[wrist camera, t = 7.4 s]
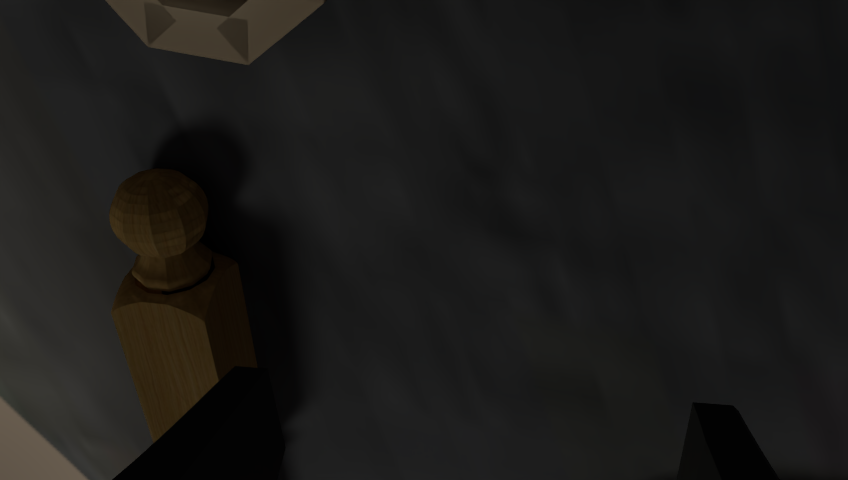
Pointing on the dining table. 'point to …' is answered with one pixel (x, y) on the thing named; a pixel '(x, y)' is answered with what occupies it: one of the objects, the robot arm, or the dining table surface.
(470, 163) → the dining table surface
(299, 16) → the ring
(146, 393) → the wooden baluster
